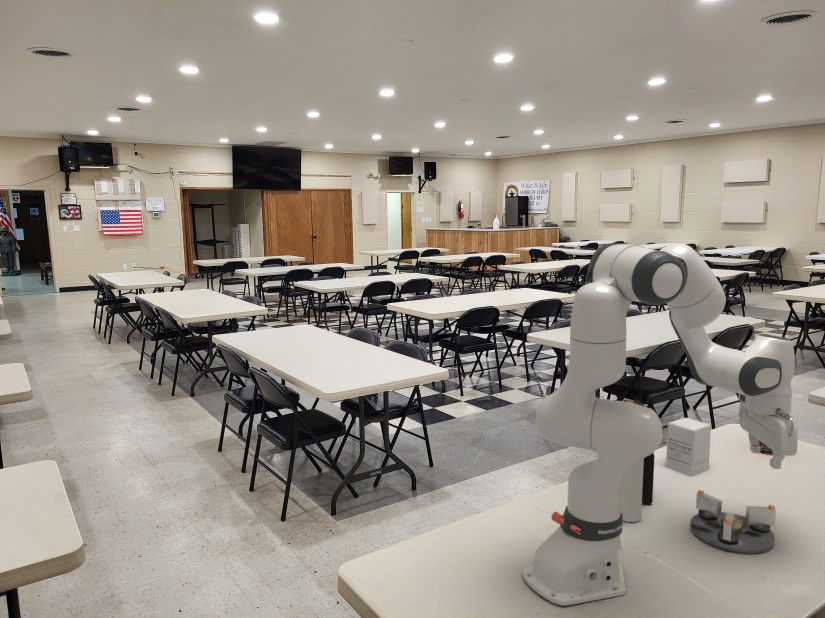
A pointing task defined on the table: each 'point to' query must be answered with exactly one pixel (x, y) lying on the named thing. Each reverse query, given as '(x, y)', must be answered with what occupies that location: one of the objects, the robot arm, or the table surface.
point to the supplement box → (688, 446)
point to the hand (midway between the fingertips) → (764, 459)
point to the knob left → (708, 506)
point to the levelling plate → (745, 537)
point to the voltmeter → (646, 471)
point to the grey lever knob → (760, 518)
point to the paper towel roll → (633, 493)
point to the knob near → (728, 530)
